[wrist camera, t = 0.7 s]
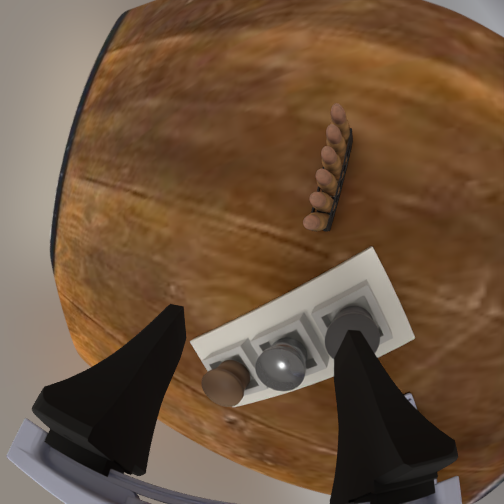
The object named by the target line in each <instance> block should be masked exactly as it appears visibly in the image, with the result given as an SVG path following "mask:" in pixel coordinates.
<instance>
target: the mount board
mask: <svg viewBox="0 0 504 504" xmlns="http://www.w3.org/2000/svg"><path fill="white" fill-rule="evenodd" d="M350 306H358V307H362V308H364V309H366V310H367V311H368V312H369V313H370V314H371V316H372V318H373V320H374V322H375V323H376V324H377V326H378V329H379V334H380V343H379V347H378V349H377V351H376V353H375V355H376V357H377V358H378V357H380V356H382V355H384V354H386V353H388V352H390V351H392V350H394V349H396V348H398V347H400V346H402V345H404V344H406V343H408V342H410V341H411V340H413V339H415V337H414V334H413V332H412V329H411V327H410V324H409V322H408V320H407V317H406V315H405V313H404V310H403V308H402V306H401V304H400V301H399V299H398V297H397V295H396V293H395V291H394V288H393V286H392V284H391V282H390V280H389V278H388V276H387V274H386V272H385V270H384V268H383V266H382V264H381V262H380V260H379V258H378V256H377V254H376V253H375V251H374V249H373V247H372V246H370V247H369V248H367V249H365V250H363V251H362V252H360V253H358V254H357V255H355V256H353V257H351V258H350V259H348V260H346V261H344V262H343V263H341V264H339V265H337V266H336V267H334V268H332V269H330V270H328V271H327V272H325V273H323V274H321V275H319V276H318V277H316V278H314V279H312V280H310V281H308V282H307V283H305V284H303V285H301V286H299V287H297V288H295V289H293V290H292V291H290V292H288V293H286V294H284V295H282V296H280V297H278V298H276V299H274V300H272V301H270V302H268V303H266V304H264V305H263V306H261V307H259V308H257V309H255V310H253V311H251V312H249V313H247V314H245V315H242V316H240V317H238V318H236V319H234V320H232V321H230V322H228V323H226V324H224V325H222V326H220V327H218V328H216V329H213V330H211V331H209V332H207V333H205V334H203V335H201V336H198V337H196V338H194V339H193V340H191V341H190V343H191V344H192V346H193V348H194V349H195V351H196V352H197V354H198V356H199V357H200V359H201V360H202V363H203V364H204V366H205V367H206V369H207V371H210V370H212V369H216V368H217V367H218V366H219V365H220V364H221V363H222V362H223V361H226V360H235V361H238V362H240V363H241V364H243V365H244V366H245V367H246V368H247V370H248V371H249V373H250V382H249V384H248V386H247V387H246V388H245V390H244V396H243V398H242V400H241V401H240V402H239V403H238V404H237V405H235V406H233V407H237V406H241V405H245V404H249V403H253V402H256V401H260V400H264V399H267V398H271V397H274V396H278V395H281V394H284V393H288V392H291V391H294V390H297V389H300V388H303V387H306V386H309V385H312V384H314V383H317V382H320V381H323V380H325V379H328V378H331V377H333V376H334V359H333V358H331V356H330V355H329V354H328V352H327V350H326V347H325V336H326V332H327V329H328V327H329V325H330V324H331V323H332V321H333V320H334V318H335V316H336V315H337V313H338V312H339V311H341V310H342V309H344V308H346V307H350ZM286 337H287V338H293V339H296V340H298V341H299V342H301V343H302V344H303V345H304V347H305V348H306V350H307V355H308V357H307V361H306V364H305V365H306V374H305V377H304V380H303V382H302V383H301V384H300V385H299V386H298V387H297V388H295V389H293V390H290V391H277V390H273V389H271V388H269V387H267V386H266V385H264V384H263V383H262V382H261V381H260V379H259V378H258V376H257V374H256V370H255V364H256V361H257V359H258V357H259V356H260V354H261V353H262V352H263V351H264V350H266V349H268V348H270V347H271V345H272V344H273V343H274V342H275V341H276V340H278V339H280V338H286Z"/></svg>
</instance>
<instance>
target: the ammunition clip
mask: <svg viewBox="0 0 504 504" xmlns="http://www.w3.org/2000/svg"><path fill="white" fill-rule="evenodd" d="M326 136H327V141H326V142H327V146H325V147H324V148H323V149H322V151H321V157H322V165H323V169H319V170H318V171H317V172H316V180H317V184H318V189H317V192H314V193H312V194H311V195H310V202H311V204H312V205H313V208H312V211H311V214H309V215H308V216H306V217H305V218H304V220H303V225H304V227H305V228H307V229H309V230H312V231H320V230H323V231H330V229H331V226H332V222H333V218H334V215H335V211H336V208H337V204H338V200H339V196H340V193H341V189H342V185H343V181H344V177H345V173H346V169H347V164H348V160H349V156H350V152H351V147H352V143H353V138H352V128H349V122H348V120H347V118H346V115H345V111H344V109H343V108H342V106H341V105H340V104H338V103H335V104H334V105H333V106H332V108H331V124H330V125H329V126H328V127H327V130H326ZM320 188H321V189H322V192H320ZM315 209H316V210H317V212H315Z"/></svg>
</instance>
